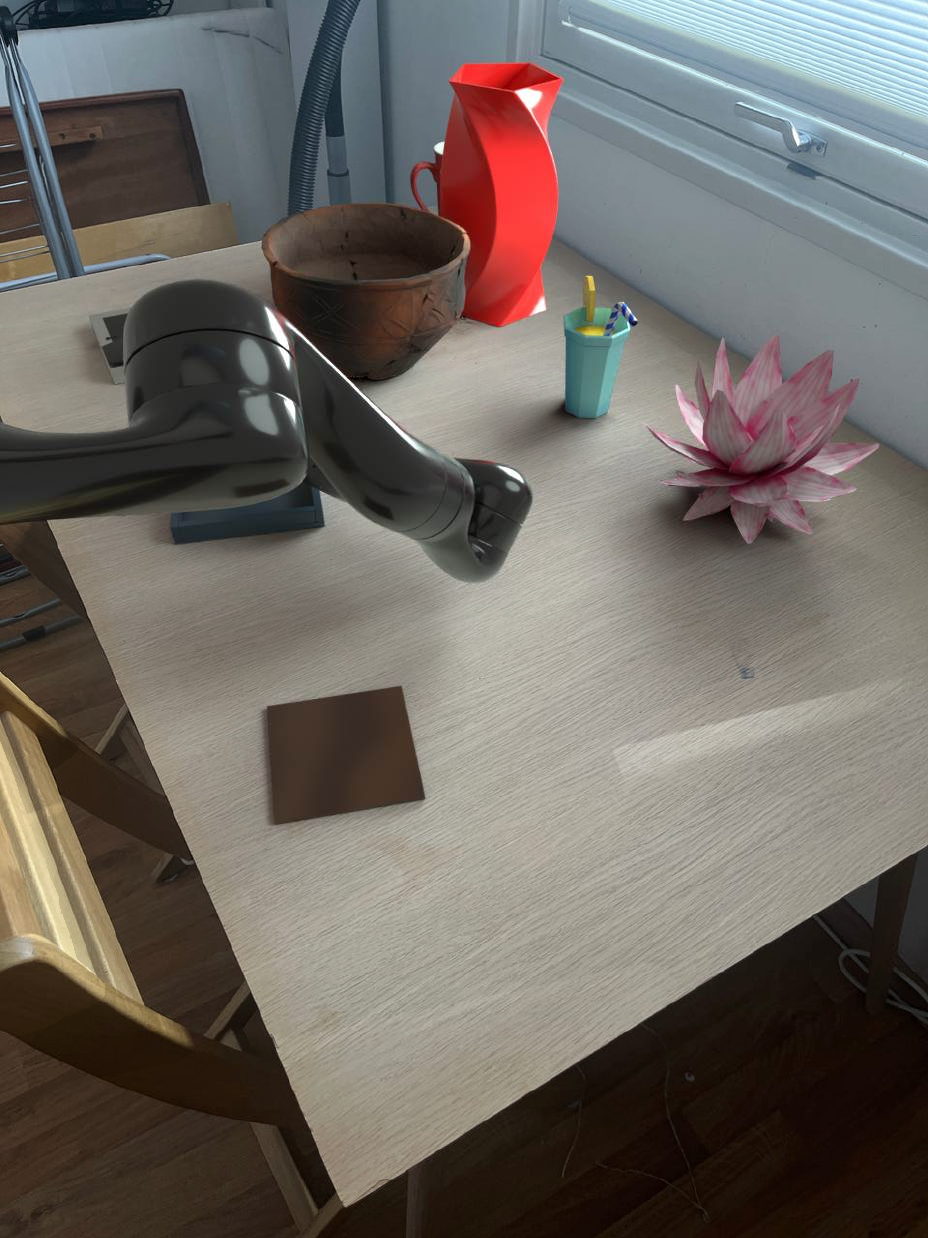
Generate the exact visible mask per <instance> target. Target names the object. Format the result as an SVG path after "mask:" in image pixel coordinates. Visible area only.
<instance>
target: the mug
mask: <svg viewBox="0 0 928 1238" xmlns="http://www.w3.org/2000/svg"><path fill="white" fill-rule="evenodd" d="M444 142H445V140H443V141H440V142H438V143H436V144H435V145H434V146H433V152H434V159H435V162H430V161H427V160H426V161H425V160H423V161H419V162H417V163H415V164H414V166H413V167H412V169H411V171H410V175H409V182H410V189H411V193H412V196H413V197H414V200H415V202H416V204H417V205H418V207H419V209H421V210H425V211H428V212H431V211H430V210H429V209H428V208H427V206H426V204H424V202H423V200H422V199H421V197H420V195H419V192H418V188H417V178H418V175H419V173H420V172H421V171H423V170H425V169H426V170H428V171H429V172H430V173H431V175H432V178H433V181H434V182H435V183H436V201H437V215H438V216H440V177H441V165H442V156H443V149H444Z"/></svg>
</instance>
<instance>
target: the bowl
mask: <svg viewBox="0 0 928 1238" xmlns="http://www.w3.org/2000/svg"><path fill="white" fill-rule="evenodd" d="M260 245H261V247H260V248H261V250H262V253H263V256H264V258H265V260H266V261H267V263H268V264H269V276H270V277H269V278H270V283H271V296H272V297H271V298H272V301H273V304H274V307H275V308H276V309H277V310H279V311H280V312H281V313H282V314H283V315H284V316H285V317H286V318H288V319H289V320H290V321H291V322H292V323H293V324H294V325H295V326H296V327H297V328H298V329H299V330H300V331H301V332H302V333H303V334H304V335H305V336H306V337H307V338H308V339H309V340H310V341H311V342H312V343H313V344H314V345H315V347H316V348H317V349H318V350H319V351H320V352H321V353H322V354H323V355H324V356H325V357H327V358H328V359H329V360H330V361H331V362H332V363H333V364H334V365H335V366H336V367H337V368H338V369H339V370H340V371H341V372H342V373H343V374H344V375H345V376H346V377H347V378H365V377H366V378H368V379H369V380H377V381H380V380H383V379H388V378H391V377H395V376H398V375H401V374H402V373H404V372H407V371H408V370H410V369H411V368H412V367H414V366H415V365H416V364H417V363H418V362H419V361H420V360H421V358H423V357H424V356H425V355H426V354H427V353H428V352H430V351H431V349H432V348H433V347H435V346H436V344H438V342H439V341H440V340H441V339H442V338H444V337H445V336H446V334H447V333H448V332H449V331H450V330H451V329H452V328H453V327H454V326H455V325H456V324H457V323H458V321H459V320H460V318H461V316H462V315H461V313H462V311H463V310H464V304H465V293H466V291H465V285H464V274H465V266H466V260H467V257H468V254H469V251H470V240H469V237H468V235H467V233H466V231H465V230H464V229H463V228H461V227H460V226H459V225H457V224H454V223H453V222H452V221H450V220H447V219H445V218H443V217H440V216H438V214H435V213H433V212H431V211H430V212H428V211H425V210H421V208H418V207H413V206H407V205H403V204H395V203H387V202H346V203H339V204H333V205H327V206H321V207H317V208H312V209H307V210H306V209H305V210H302V211H301V212H297V213H294V214H293V213H292V214H291V215H288V216H286V217H283V218H281V219H280V220H278V222H276V223H274V224H273V225H272V226H270V227H269V228H268V230H266V231H265V233H264V234H263V236H262V237H261V243H260Z"/></svg>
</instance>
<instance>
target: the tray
mask: <svg viewBox="0 0 928 1238" xmlns="http://www.w3.org/2000/svg"><path fill="white" fill-rule="evenodd" d="M321 496H322V495H321V491H320V490H318V489H316V488H314V487H312V486H310V485H308V484H306V483H304V482H301V483H300V484H299V485H298V486H297V487H295V488H294V489H292V490H291V491H289V492H287V493H285V494H283V495H281V496H279V497H276V498H273V499H270V500H267V501H263V502H260V503H256V504H251V505H246V506H240V507H233V508H225V509H217V510H206V511H192V512H179V513H170V518H169V519H170V520H169V529H170V532H171V533H170V534H171V536H172V539H173V543H174V545H181V544H189V543H198V542H205V541H213V540H222V539H231V538H238V537H248V536H254V535H264V534H271V533H280V532H287V531H296V530H303V529H304V530H305V529H312V528H322V527H325V526H326V523H325V516H324V510H323V502H322V497H321Z"/></svg>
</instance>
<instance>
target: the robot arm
mask: <svg viewBox="0 0 928 1238" xmlns="http://www.w3.org/2000/svg"><path fill="white" fill-rule="evenodd" d="M241 287H242V286H238V285H236V284H233V283H228V282H224V281H220V280H216V279H204V278H191V279H181V280H175V281H172V282H167V283H164V284H161V285H159V286H157V287H155V288H153V289H150V290H148V291H147V292H146V293H144V294H143V295H141V296H140V297H139V298H138V299H137V300H136V301H134V304H133V305H132V306H130V307H131V309H130V310H129V312H128V315H127V318H126V321H125V324H124V334H123V365H124V375H125V378H124V379H125V382H124V389H125V390H124V391H125V400H126V412H127V424H128V426H127V427H124V428H119V429H114V430H106V431H97V432H77V433H75V432H52V431H51V432H50V431H36V430H30V429H25V428H22V427H18V426H14V425H11V424H8V423H4V422H1V421H0V526H6V525H7V526H8V525H15V524H23V523H24V524H25V523H33V522H45V521H57V520H58V521H59V520H73V519H90V518H104V517H123V516H141V515H142V516H143V515H159V514H161V515H162V514H171V513H179V512H192V511H206V510H217V509H225V508H233V507H240V506H246V505H251V504H256V503H260V502H263V501H267V500H270V499H273V498H276V497H279V496H281V495H283V494H285V493H287V492H289V491H291V490H292V489H294V488H295V487H297V486H298V485H299V484H300V483H301V482H304V483H306V484H308V485H310V486H312V487H314V488H316V489H318V490H320V492H322V493H324V494H326V495H328V496H330V497H332V498H334V499H336V500H339V501H341V502H344V503H347V504H348V505H349V506H350V507H351V508H352V509H353V510H355V512H357V513H358V514H360V515H361V516H362V517H363V518H364V519H366V520H368V521H369V522H370V523H373V524H375V525H377V526H379V527H381V528H383V529H385V530H389V531H391V532H394V533H396V534H398V535H400V536H403V537H406V538H409V539H411V540H412V541H414V542H415V543H416V544H417V546H419V548H420V549H421V550H422V552H423V553H424V554H425V555H426V556H427V558H428V559H429V560H430V561H431V562H432V563H433V564H434V565H435V566H436V567H437V568H438V569H439V570H440V571H442V572H443V573H445V574H446V575H447V576H449V577H451V578H453V579H454V580H457V581H458V582H462V583H466V584H471V585H472V584H474V585H477V584H483V583H486V582H488V581H490V580H493V578H495V577H496V576H497V575H498V574H499V573H500V572H501V570H502V569H503V567H504V565H505V563H506V561H507V559H508V557H509V554H510V553H511V551H512V548H513V546H514V544H515V542H516V540H517V539H518V536H519V534H520V531H521V530H522V526H523V525H524V524H525V522H526V519H527V517H528V515H529V513H530V511H531V509H532V506H533V503H534V493H533V489H532V487H531V484H530V482H529V480H528V479H527V478H526V477H525V476H524V475H523V474H522V473H521V471H519V470H518V469H516V468H514V467H512V466H510V465H509V464H506V463H503V462H499V461H495V460H488V459H483V458H482V459H480V458H469V457H468V458H467V457H456V456H450V455H449V454H447V453H445V452H444V451H442V450H440V449H438V448H437V447H435V446H434V445H432V444H430V443H429V442H427V441H425V440H424V439H422V438H420V437H418V436H417V435H415V434H414V433H412V432H411V431H409V430H407V429H406V428H405V427H403V426H402V425H401V424H400V423H398V422H397V421H396V420H394V419H393V418H392V417H391V416H389V415H388V414H387V413H386V412H385V411H384V410H382V409H381V408H380V407H379V405H377V404H376V403H375V402H374V401H373V400H371V399H370V397H368V396H367V395H366V394H365V393H364V392H363V391H362V390H361V389H360V388H359V387H358V386H357V385H356V384H355V383H354V382H353V381H351V380H350V378H349V377H347V376H345V375H344V374H343V373H342V372H341V371H340V370H339V369H338V368H337V367H336V366H335V365H334V364H333V363H332V362H331V361H330V360H329V359H328V358H327V357H325V356H324V355H323V354H322V353H321V352H320V351H319V350H318V349H317V348H316V347H315V345H314V344H313V343H312V342H311V341H310V340H309V339H308V338H307V337H306V336H305V335H304V334H303V333H302V332H301V331H300V330H299V329H298V328H297V327H296V326H295V325H294V324H293V323H292V322H291V321H290V320H289V319H288V318H286V317H285V316H284V315H283V314H282V313H281V312H280V311H279V310H277V308H276V306H275V305H272V304H271V303H270V302H269V301H267V299H264V298H263V297H261V296H260V295H258V294H256V293H255V292H253V291H251V290H248V289H246V288H244V287H243V288H244V289H243V288H241Z"/></svg>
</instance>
